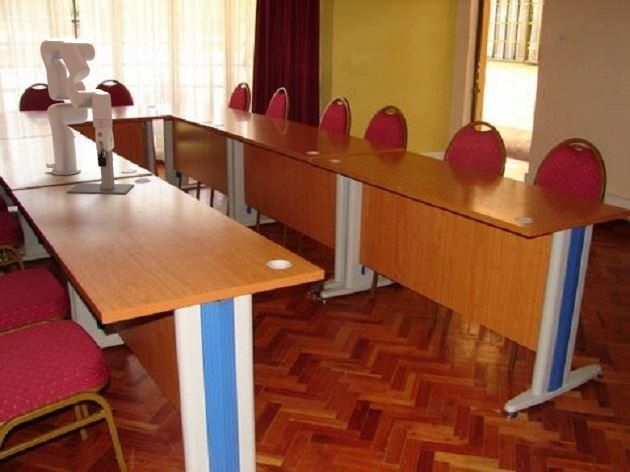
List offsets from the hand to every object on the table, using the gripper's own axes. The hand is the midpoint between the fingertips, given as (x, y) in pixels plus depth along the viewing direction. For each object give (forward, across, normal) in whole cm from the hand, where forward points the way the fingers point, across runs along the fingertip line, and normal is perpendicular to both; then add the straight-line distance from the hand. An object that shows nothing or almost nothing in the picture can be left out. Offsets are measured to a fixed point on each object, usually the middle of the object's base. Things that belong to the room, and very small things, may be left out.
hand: (105, 164), depth 279 cm
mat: (+11, +1, +3) cm, 12 cm away
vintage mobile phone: (+11, 0, 0) cm, 11 cm away
